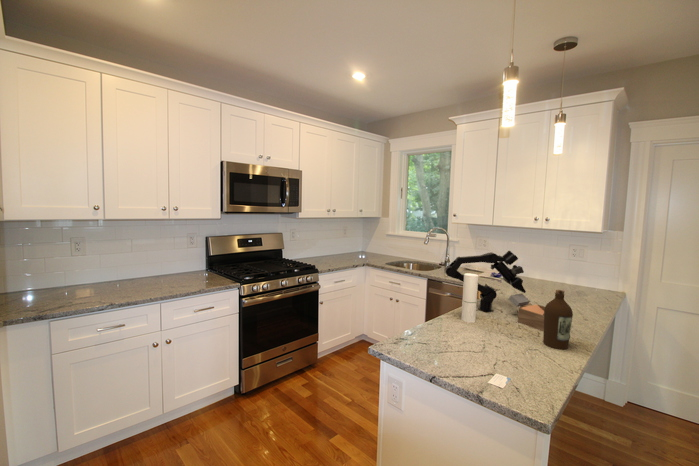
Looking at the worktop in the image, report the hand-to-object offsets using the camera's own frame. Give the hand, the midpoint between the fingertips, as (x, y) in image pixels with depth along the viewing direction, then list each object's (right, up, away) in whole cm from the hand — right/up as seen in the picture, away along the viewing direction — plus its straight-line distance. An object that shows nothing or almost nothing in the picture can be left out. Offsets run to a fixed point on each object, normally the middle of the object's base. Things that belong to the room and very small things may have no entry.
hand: (522, 290), depth 185 cm
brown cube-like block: (+4, -14, +3) cm, 15 cm away
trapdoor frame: (+1, -15, -16) cm, 22 cm away
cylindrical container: (-37, -14, -14) cm, 42 cm away
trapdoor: (-2, -11, -11) cm, 15 cm away
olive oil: (-8, -17, -43) cm, 47 cm away
